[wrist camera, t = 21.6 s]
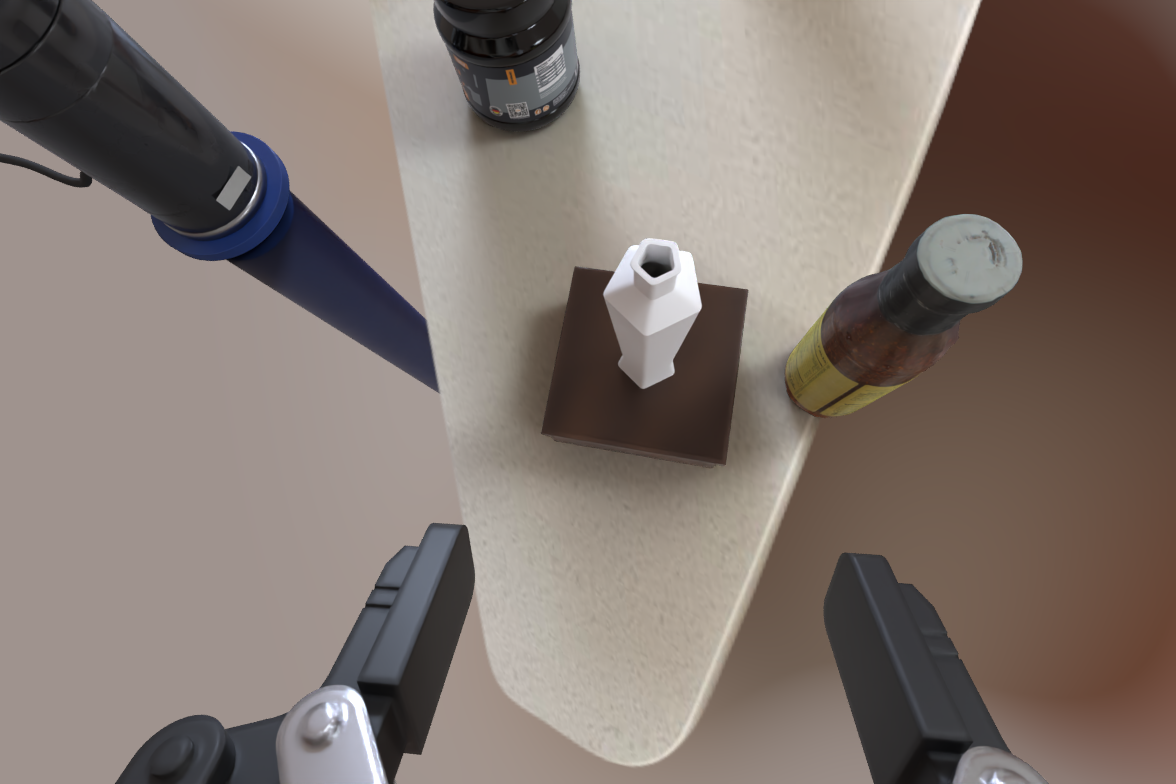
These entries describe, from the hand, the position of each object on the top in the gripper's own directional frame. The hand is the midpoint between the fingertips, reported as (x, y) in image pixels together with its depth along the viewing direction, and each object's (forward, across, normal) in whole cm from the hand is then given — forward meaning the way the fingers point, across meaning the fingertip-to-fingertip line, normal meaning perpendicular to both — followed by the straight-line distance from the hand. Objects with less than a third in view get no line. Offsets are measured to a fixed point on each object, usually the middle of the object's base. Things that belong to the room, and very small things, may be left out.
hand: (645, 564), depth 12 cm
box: (+28, 0, +12) cm, 31 cm away
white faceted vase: (+25, 0, +9) cm, 26 cm away
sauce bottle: (+29, -14, +12) cm, 34 cm away
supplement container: (+47, +12, -7) cm, 49 cm away
